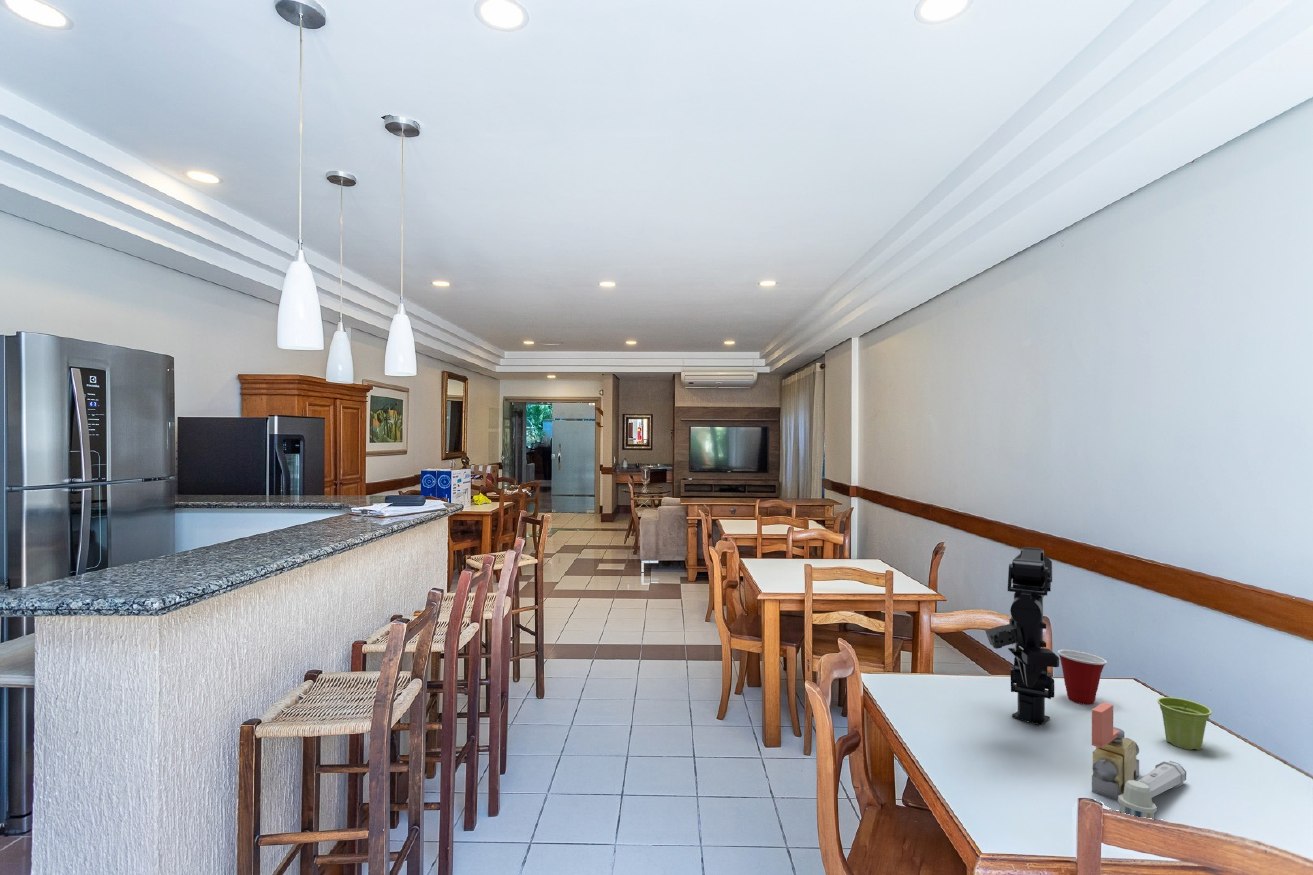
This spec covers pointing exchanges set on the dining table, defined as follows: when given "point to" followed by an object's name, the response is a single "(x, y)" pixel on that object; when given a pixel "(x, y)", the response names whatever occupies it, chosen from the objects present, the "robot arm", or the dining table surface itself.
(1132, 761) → the valve
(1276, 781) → the dining table surface
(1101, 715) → the lever
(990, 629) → the robot arm
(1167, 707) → the plant pot
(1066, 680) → the plastic cup
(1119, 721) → the dining table surface
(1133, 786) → the white flashlight
